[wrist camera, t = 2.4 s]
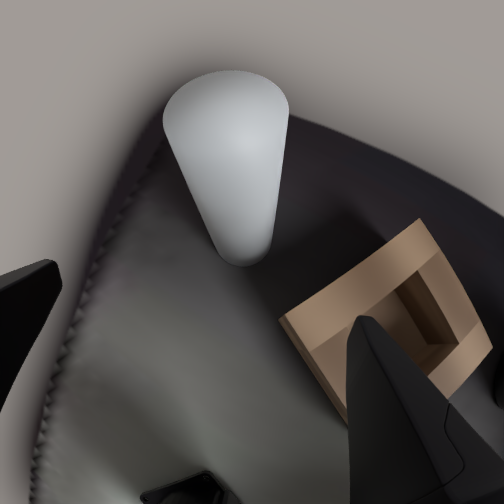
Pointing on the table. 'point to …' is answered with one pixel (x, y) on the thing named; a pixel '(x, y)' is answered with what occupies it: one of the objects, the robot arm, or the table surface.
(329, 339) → the socket block
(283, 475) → the table surface
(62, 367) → the table surface
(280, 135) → the peg
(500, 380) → the supplement bottle
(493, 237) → the table surface
